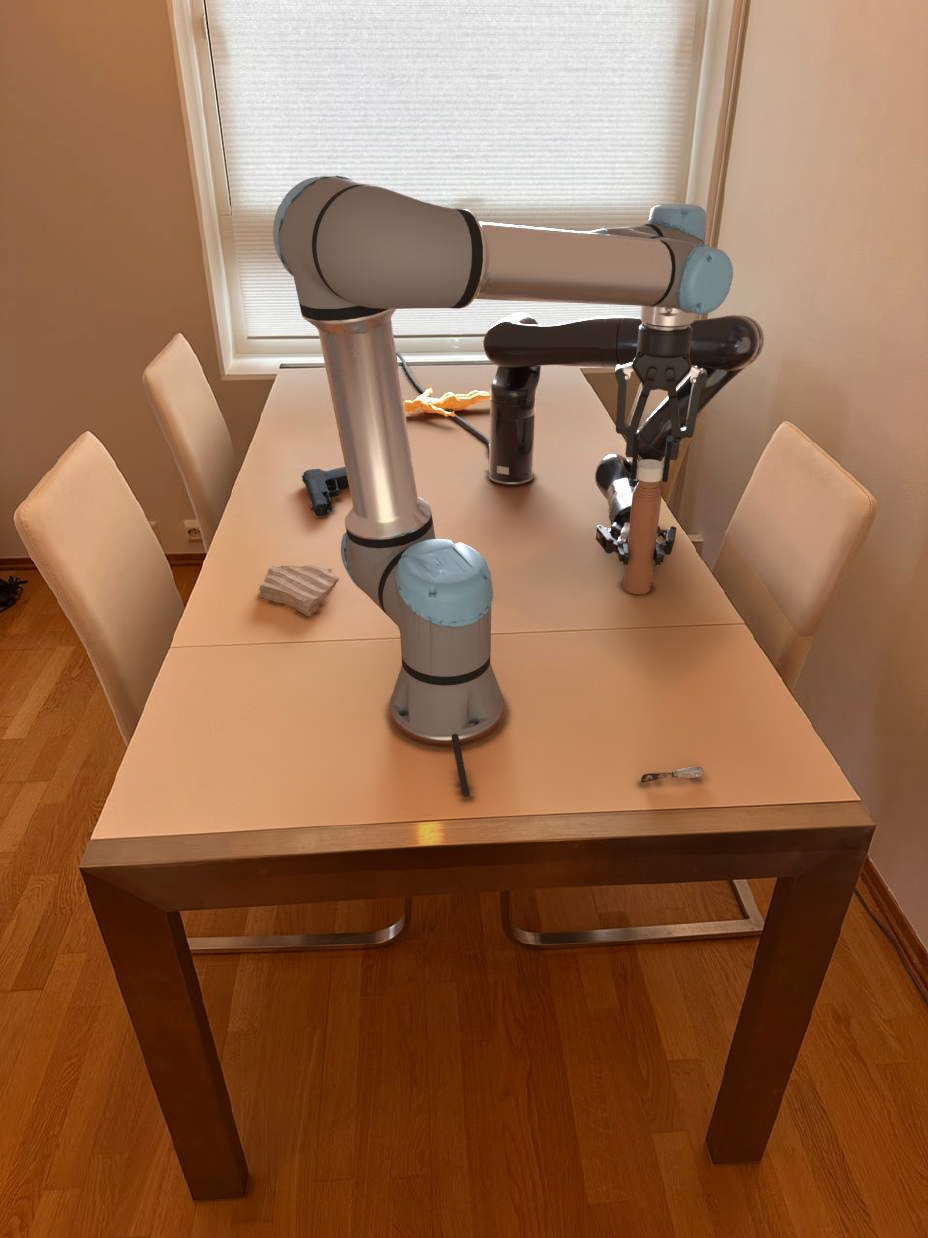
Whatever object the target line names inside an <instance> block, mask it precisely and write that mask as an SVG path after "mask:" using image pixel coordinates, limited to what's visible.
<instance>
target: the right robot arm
mask: <svg viewBox="0 0 928 1238" xmlns="http://www.w3.org/2000/svg"><path fill="white" fill-rule="evenodd" d="M642 323H643V322H642V321H641V320H640V316H638V315H637V316H634V315H605V316H595V317H590V318H584V319H583V318H582V319H579V320H574V321H569V322H565V323H559V324H553V325H551V324H550V325H540V324H539V323H538V322H537V320H536V319H535V318H534V317H532V316H531V315H530V314H528V313H526V312H525V313H524V312H514V313H512V314H510V315H507V316H505V317H503V318H502V319H500V320H498V321H497V322H496V323H494V324H493V325H491V327H489V329H488V330H487V331H486V333H485V334H484V337H483V341H482V349H483V352H484V355H485V357H486V358H487V359H488V361H490V363H491V364H493V365H495V366H497V368H496V373H495V375H494V378H493V379H492V381H491V382H490V383H491V384H490V386H489V387H490V388H489V392H490V399H489V437H488V436H486V435H484V434H483V433H482V432H480V431H479V430H478V429H476V428H475V427H473V426H472V425H471V424H469V423H468V422H467V421H465V420H464V419H462V418H461V417H460V416H458V415H457V414H455V416H454V417H452V416H451V415H449V416H450V417H452V418H453V419H454V420H456V421H457V422H459V423H460V424H461V425H463V426H464V427H466V428H467V429H468V430H470V431H471V432H472V433H473V434H474V435H476V436H477V437H479V438H480V439H481V440H483V441H484V442H485V443H486V444H487V446H488V455H489V459H488V464H489V465H488V470H489V471H488V478H489V480H490V481H491V482H493V483H495V484H499V485H503V486H521V485H525V484H528V483H529V482H531V481H533V479H534V455H535V453H534V451H535V430H536V429H535V428H536V427H535V426H536V400H537V398H536V397H537V390H538V387H539V383H540V379H541V371H542V370H541V369H542V367H543V366H544V367H545V366H562V367H574V368H593V369H594V368H595V369H596V368H597V369H615V368H616V366H617V365H619V364H620V365H622V366H623V365H626V364H629V363H632V361H633V359H634V357H635V356H636V353H637V343H638V333H639V326H640V325H641V324H642ZM690 326H691V328H692V329H693V331H692V339H691V347H690V355H689V358H690V360H691V364H692V366H695V367H697V368H699V369H701V368H704V369H706V371H707V380H706V382H705V383H704V385H703V387H702V389H701V393H700V399H699V405H698V411H697V417H696V419H697V418H698V417H699V415H700V414H701V413H702V412H703V410H704V409H705V408H706V407H707V405H708V404H709V403H710V402H711V401H712V400H713V399H714V398H715V397H716V395H718V394H719V393H720V392H721V391H722V390H723V388H724V387H726V386H727V384H729V382H731V381H732V380H733V379H734V378H736V376H738V375H739V374H740V373H741V372H743V370H745V369H746V368H747V367H750V365H752V364H753V363H754V362H756V360H757V359H759V357H760V355H761V354H762V351H763V348H764V344H765V334H764V330H763V328H762V327H761V325H760V323H758V322H757V320H755V319H754V318H752V317H749V316H747V315H742V314H730V315H724V316H720V317H719V316H718V317H712V318H704V319H694V322H693V323H691V324H690ZM396 355H397V358H399V360H400V361H401V363H402V366H403V368H404V370H405V372H406V374H407V376H408V377H409V379H410V381H412V384H413V385H415V387H416V388H417V389H418V391H419V392H421V394H423V393H425V390H426V389H424V388H423V387H422V386H421V385H420V384H419V382H418V381H417V380H416V379H415V377H414V376H413V374H412V372H411V371H410V369H409V366H408V365H407V363H406V360H405V359H404V357H403V355H401V353H400V352H398V351H396ZM690 376H691V375H690V374H689V373H688V374H687V375H686V377H685V378H684V379H683V380H682V381H681V382H680V383H679V384H678V385H677V386H676V391H677V401H678V412H679V422H680V428H683V427H685V425H686V419H687V412H688V406H689V400H690V394H691V388H692V383H691V381H690ZM428 397H429V398H433V396H431V394H429V396H428ZM445 411H446V412H452V411H451V410H448V409H447V410H445ZM636 434H640V441H639V451H638V457H640V460H646V459H651V460H657V461H660V462H662V461H663V460H664V457H665V449H666V441H667V435H670V436H672V428H671V418H670V408H669V399H668V396H666V397H665V399H664V400H663V401H662V402H661V403H659V405H658V406H657V407H656V408H655V409H653V411H652V412H651V413H650V415H649V416H648V417H646V419H645V420H644V422H643V423H642V424H641V426H640V427H638V429H637V432H636ZM631 469H632V460H630V459H628V458H627V457H626V456H623V455H621V454H619V453H609V454H606V455H605V456H603V457H602V458H601V459H600V460H599V461H598V463H597V465H596V467H595V471H594V481H595V485H596V487H597V488H598V490H599V492H600V493H601V494H602V496H603V497H604V498H605V499H606V501H607V504H608V518H609V521H610V525H611V526H610V527H605V526H604V525H603V524H597V525H596V530H595V541H596V542H597V543H598V544H599V546H600V547H601V548H602V549H603V551H604V552H605V553H606V554H613V552H614V553H616V555H617V558H618V559H617V560H618V561H619V562H620V563H622V565H623V566H625V565H628V559H629V552H628V547H627V542H628V532H629V522H630V513H631V503H632V494H633V491H634V489H635V488H636V486H637V483H638V482H639V479H637V478H636V480H631ZM677 529H678V528H677V527H676V526H672V525H671V526H669V527H668V528H666V529H663V528H661V526H660V525H658V530H657V538H656V546H655V555H654V565H655V566H656V567H659V566H661V564H663V563H664V562H665V556H666V555H667V556H668V555H669V556H670V555H672V553H673V549H674V546H675V543H676V536H677ZM661 538H662V539H661ZM663 540H664V541H663Z"/></svg>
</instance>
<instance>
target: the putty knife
mask: <svg viewBox="0 0 928 1238" xmlns="http://www.w3.org/2000/svg"><path fill="white" fill-rule="evenodd" d="M704 772H705V771H704V768H702V767H701V766H697V765H695V766H688V767H683V768H679V769H675V770H673V771H671V772H653V773H652V772H651V773H650V772H649V773H644V774H642V776H641V779H640V783H642V784H645V783H648V782H653V781H659V780H665V779H668V778H673V779H674V778H675V779H693V778H694V779H695V778H700V777H702V776H703V775H704Z"/></svg>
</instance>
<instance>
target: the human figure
mask: <svg viewBox="0 0 928 1238" xmlns="http://www.w3.org/2000/svg"><path fill="white" fill-rule="evenodd" d="M424 390H425V393H421V394H420V395H418V396H416V398H415V399H414V400H403V402H404V409H405V413H410V414H412V413H414V412H417V408H418V409H420V410H421V411H423V412H424V413H427V414H439V415H443V416H444V417H449V416H450V415H451V416H450V417H451V418H453V417H454V416H455V415H456V413H455V411H462V410H464V409H467V408H469V407H471V406H473V405H476V404H478V403H481V402H484V401H488V400H490V391H478V390H473V391H470V392H469V393H468V394H460V393H457V394H455V393H453V392H446V393H444V394H443V395H442V396H441V397H440V398H434V397H432V398H429V397H428V396H429V395H432V394H433V392H434V391H433V389H432V385H429V387H428V389H424ZM447 409H448V410H450V411H451V410H452V411H451V412H446V411H445V410H447Z"/></svg>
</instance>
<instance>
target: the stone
mask: <svg viewBox="0 0 928 1238" xmlns="http://www.w3.org/2000/svg"><path fill="white" fill-rule="evenodd" d="M338 582H339V577H338V576H337V575H336V574H335V573H333V569H332V568H324V567H321V566H318V565H301V566H299V565H291V564H283V565H281V566H273V565H272V566H270V567H269V568H268V570H267V573H266V574H265V578H264V581H263V582H262V583H261V584H260V585H259V593H258V596H259V597H260V598H263V599H265V600H270V601H272V602H275V603H277V604H285V605H288V606H289V607H292V608H293V609H295V610H296V611H298V612H299V613H301V614H303V615H304V616H307V617H311V616H312V615H313V614H314V613H315V612H317V611H318V609H319V607H320V606H319V605H320V604H321V602H322V601H323V600H324V599H325V598H326V595H328V594H331V592H332V591H333V589H334V588H335V586H336V584H337V583H338Z"/></svg>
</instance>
